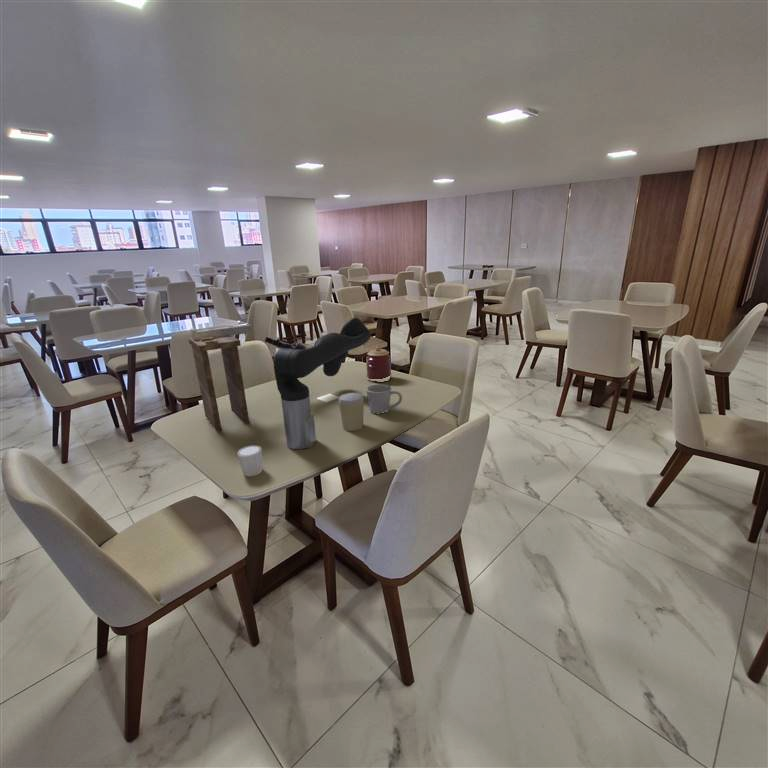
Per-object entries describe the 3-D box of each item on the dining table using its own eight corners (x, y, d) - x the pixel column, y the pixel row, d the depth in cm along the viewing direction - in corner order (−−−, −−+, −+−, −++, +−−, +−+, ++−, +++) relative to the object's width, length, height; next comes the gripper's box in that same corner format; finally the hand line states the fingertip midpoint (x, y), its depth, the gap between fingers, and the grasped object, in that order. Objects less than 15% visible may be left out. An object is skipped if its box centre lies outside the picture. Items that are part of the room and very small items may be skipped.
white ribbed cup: (248, 480, 109) (244, 458, 107) (236, 472, 113) (232, 451, 111) (269, 470, 114) (266, 449, 112) (257, 463, 118) (253, 443, 116)
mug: (370, 405, 162) (369, 383, 159) (404, 407, 159) (404, 384, 156) (364, 415, 152) (362, 391, 149) (400, 417, 149) (400, 393, 146)
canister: (396, 378, 198) (395, 345, 193) (379, 384, 190) (378, 350, 184) (379, 374, 207) (377, 342, 202) (361, 379, 198) (359, 347, 193)
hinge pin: (249, 331, 157) (248, 321, 156) (253, 332, 154) (251, 322, 153) (192, 339, 145) (190, 328, 144) (194, 340, 142) (192, 329, 141)
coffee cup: (351, 419, 148) (349, 391, 144) (370, 424, 143) (368, 395, 139) (335, 428, 141) (332, 398, 137) (354, 434, 136) (352, 403, 132)
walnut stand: (238, 408, 165) (225, 331, 154) (252, 422, 149) (239, 337, 139) (203, 416, 157) (187, 335, 146) (215, 432, 141) (198, 343, 131)
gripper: (305, 364, 165) (271, 351, 155) (292, 358, 177) (260, 346, 166) (311, 348, 166) (278, 334, 155) (298, 343, 177) (266, 330, 166)
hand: (269, 340), depth 161 cm, fingers open, 8 cm apart
